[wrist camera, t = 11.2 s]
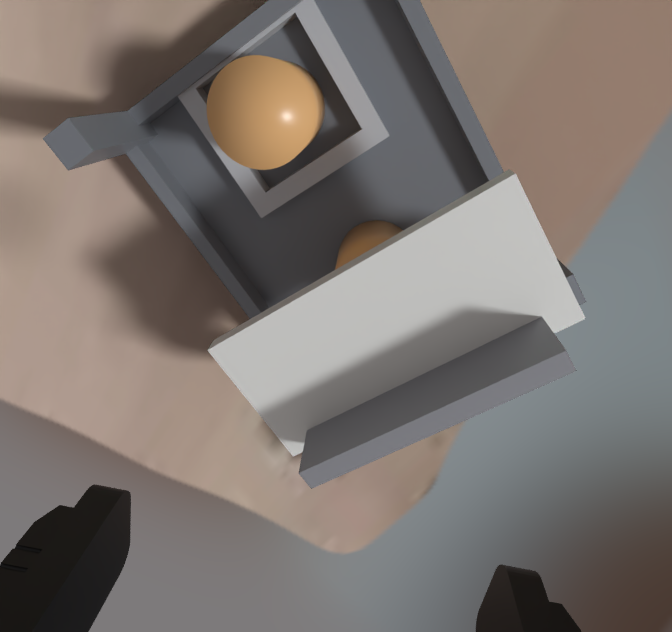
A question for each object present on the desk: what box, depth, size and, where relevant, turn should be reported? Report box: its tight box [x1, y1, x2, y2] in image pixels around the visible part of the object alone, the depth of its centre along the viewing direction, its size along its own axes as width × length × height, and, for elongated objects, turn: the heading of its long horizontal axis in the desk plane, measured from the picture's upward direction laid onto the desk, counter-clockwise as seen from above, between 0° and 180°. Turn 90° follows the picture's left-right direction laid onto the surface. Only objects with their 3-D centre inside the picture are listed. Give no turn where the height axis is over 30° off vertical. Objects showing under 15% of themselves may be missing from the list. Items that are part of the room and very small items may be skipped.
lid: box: [208, 170, 585, 489], centre depth 21 cm, size 7×15×4 cm, turn 122°
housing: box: [43, 0, 586, 319], centre depth 25 cm, size 18×16×8 cm
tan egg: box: [207, 55, 325, 170], centre depth 24 cm, size 4×4×6 cm
